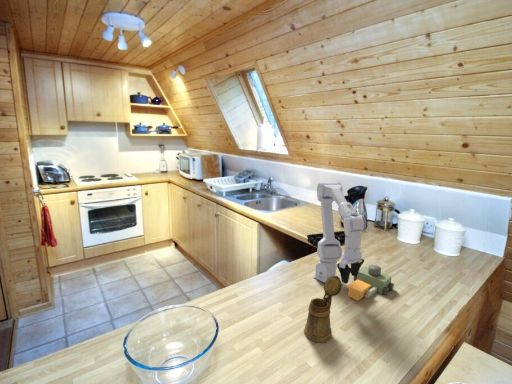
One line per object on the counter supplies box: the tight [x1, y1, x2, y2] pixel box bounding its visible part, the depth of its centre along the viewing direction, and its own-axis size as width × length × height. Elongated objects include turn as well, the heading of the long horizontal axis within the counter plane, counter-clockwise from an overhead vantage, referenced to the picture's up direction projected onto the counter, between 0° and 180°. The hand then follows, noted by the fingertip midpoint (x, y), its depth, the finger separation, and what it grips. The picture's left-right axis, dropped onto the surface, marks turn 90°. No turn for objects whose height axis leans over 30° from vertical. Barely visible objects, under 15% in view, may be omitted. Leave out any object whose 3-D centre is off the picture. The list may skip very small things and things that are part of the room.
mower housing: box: [353, 264, 395, 299], centre depth 124 cm, size 16×14×8 cm
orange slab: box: [346, 279, 371, 301], centre depth 119 cm, size 8×6×4 cm
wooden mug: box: [303, 275, 342, 344], centre depth 96 cm, size 9×14×18 cm, turn 130°
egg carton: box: [306, 230, 346, 248], centre depth 178 cm, size 18×30×4 cm, turn 121°
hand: (349, 279), depth 113 cm, fingers open, 7 cm apart
